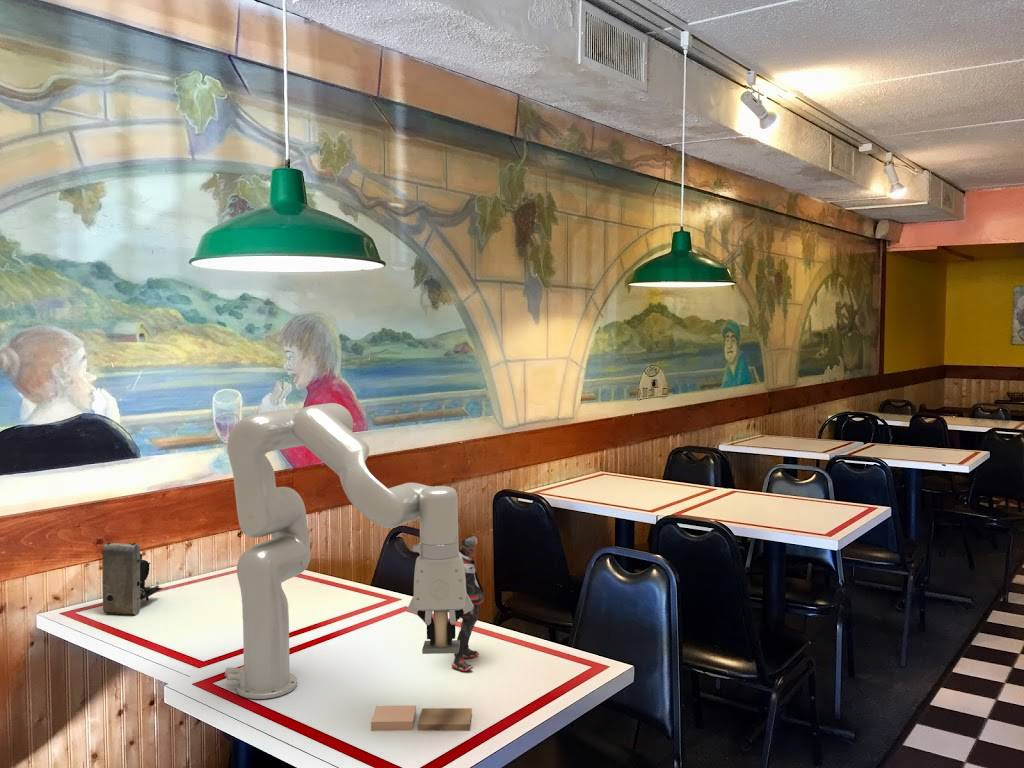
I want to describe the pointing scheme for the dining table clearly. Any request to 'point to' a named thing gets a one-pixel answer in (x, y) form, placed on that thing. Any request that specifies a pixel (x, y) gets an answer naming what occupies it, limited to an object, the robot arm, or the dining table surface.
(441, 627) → the float
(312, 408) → the robot arm
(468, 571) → the action figure
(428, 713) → the board
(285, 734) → the dining table surface
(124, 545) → the vintage camera
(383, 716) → the tile
